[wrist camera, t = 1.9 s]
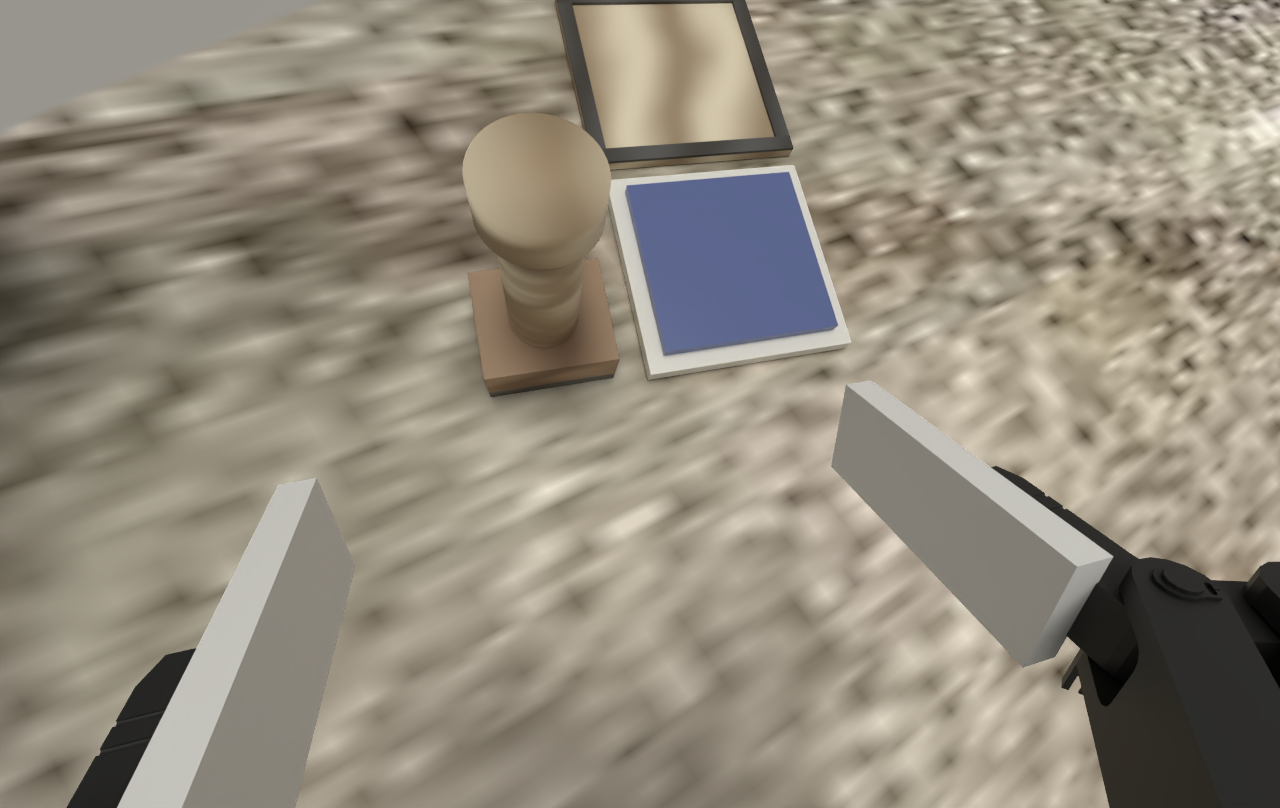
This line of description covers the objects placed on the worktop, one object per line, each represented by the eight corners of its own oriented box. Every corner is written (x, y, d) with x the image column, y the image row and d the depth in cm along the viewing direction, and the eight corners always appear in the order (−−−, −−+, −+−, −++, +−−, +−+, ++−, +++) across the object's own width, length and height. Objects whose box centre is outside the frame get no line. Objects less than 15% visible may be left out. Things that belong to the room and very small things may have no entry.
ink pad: (647, 380, 32) (653, 370, 30) (604, 190, 35) (607, 172, 33) (843, 348, 34) (857, 338, 33) (787, 174, 37) (798, 157, 36)
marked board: (592, 171, 35) (593, 162, 34) (555, 2, 38) (555, -9, 37) (788, 156, 38) (793, 147, 37) (738, 0, 41) (741, -10, 40)
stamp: (490, 397, 30) (439, 266, 16) (475, 299, 31) (416, 104, 18) (613, 377, 31) (660, 242, 18) (593, 285, 33) (623, 93, 19)
